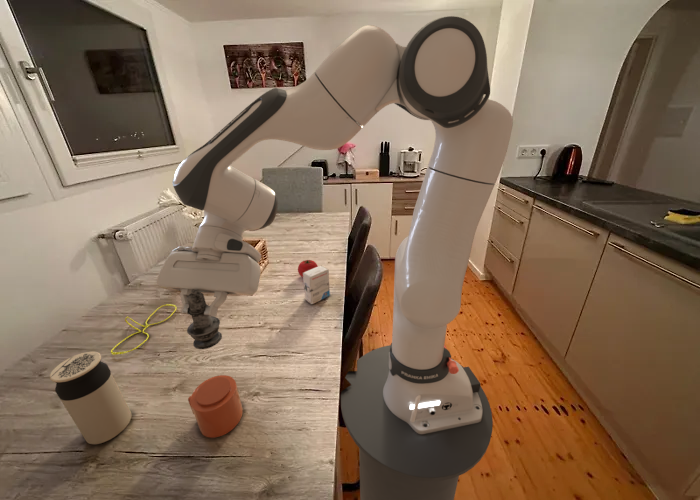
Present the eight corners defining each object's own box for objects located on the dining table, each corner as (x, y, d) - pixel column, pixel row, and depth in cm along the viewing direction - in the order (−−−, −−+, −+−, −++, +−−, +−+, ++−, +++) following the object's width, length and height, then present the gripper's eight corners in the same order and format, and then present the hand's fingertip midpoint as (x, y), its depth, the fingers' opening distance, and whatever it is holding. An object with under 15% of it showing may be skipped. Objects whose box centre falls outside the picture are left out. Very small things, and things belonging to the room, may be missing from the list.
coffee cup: (248, 399, 67) (241, 372, 63) (233, 437, 59) (225, 409, 55) (205, 399, 67) (196, 373, 64) (184, 437, 59) (172, 409, 55)
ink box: (322, 291, 111) (320, 264, 106) (330, 296, 107) (329, 268, 103) (304, 299, 106) (301, 272, 101) (312, 305, 102) (309, 277, 97)
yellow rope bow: (131, 357, 80) (125, 344, 79) (98, 357, 81) (92, 344, 79) (182, 306, 103) (178, 295, 101) (156, 306, 104) (152, 295, 102)
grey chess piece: (219, 326, 60) (206, 277, 55) (226, 341, 56) (213, 290, 51) (189, 338, 57) (172, 287, 52) (194, 355, 53) (177, 301, 48)
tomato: (317, 281, 118) (316, 264, 115) (296, 281, 118) (294, 264, 115) (320, 271, 126) (318, 255, 123) (300, 271, 126) (298, 255, 123)
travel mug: (140, 410, 65) (112, 350, 58) (112, 445, 58) (76, 382, 51) (107, 409, 65) (75, 350, 58) (75, 445, 58) (34, 381, 51)
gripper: (161, 240, 57) (137, 308, 52) (255, 243, 54) (238, 316, 49) (183, 251, 63) (162, 313, 58) (268, 255, 60) (254, 321, 55)
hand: (198, 315), depth 53 cm, fingers closed on grey chess piece, 3 cm apart
